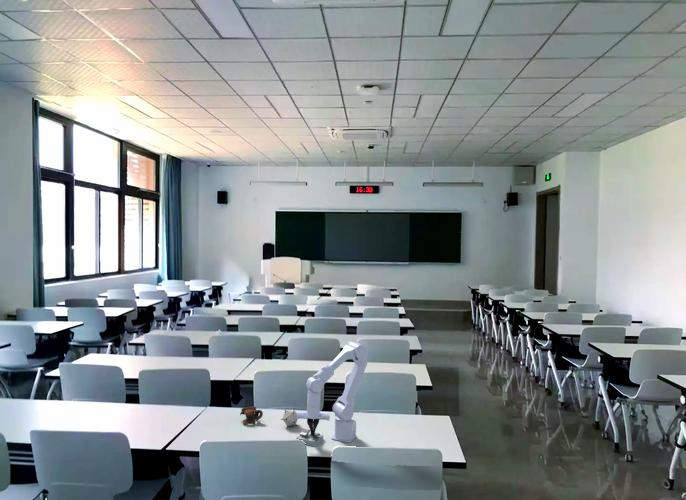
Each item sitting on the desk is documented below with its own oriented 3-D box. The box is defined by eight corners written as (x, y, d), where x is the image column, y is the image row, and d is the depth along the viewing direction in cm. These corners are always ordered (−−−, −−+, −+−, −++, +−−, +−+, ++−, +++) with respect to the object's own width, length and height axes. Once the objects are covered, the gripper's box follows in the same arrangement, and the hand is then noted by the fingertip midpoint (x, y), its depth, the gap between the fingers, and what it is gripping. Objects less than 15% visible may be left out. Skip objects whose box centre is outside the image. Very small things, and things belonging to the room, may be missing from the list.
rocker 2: (319, 435, 217) (320, 433, 217) (316, 436, 213) (316, 434, 213) (313, 434, 218) (314, 431, 218) (310, 435, 214) (310, 433, 214)
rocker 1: (309, 431, 218) (309, 429, 218) (306, 437, 215) (305, 435, 215) (303, 430, 219) (303, 428, 219) (300, 435, 216) (299, 433, 216)
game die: (286, 434, 232) (274, 417, 232) (295, 422, 239) (283, 406, 239) (298, 429, 227) (285, 413, 226) (307, 417, 234) (294, 401, 233)
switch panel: (323, 439, 218) (323, 434, 218) (316, 446, 211) (316, 440, 211) (303, 435, 222) (303, 430, 222) (296, 442, 215) (296, 436, 215)
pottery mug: (237, 426, 233) (236, 408, 237) (245, 427, 241) (244, 410, 245) (260, 421, 231) (259, 404, 235) (267, 423, 239) (266, 406, 243)
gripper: (330, 402, 217) (329, 432, 217) (298, 401, 217) (297, 430, 218) (329, 408, 210) (328, 438, 210) (296, 406, 210) (295, 437, 210)
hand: (312, 435), depth 213 cm, fingers closed, pressing on rocker 2
